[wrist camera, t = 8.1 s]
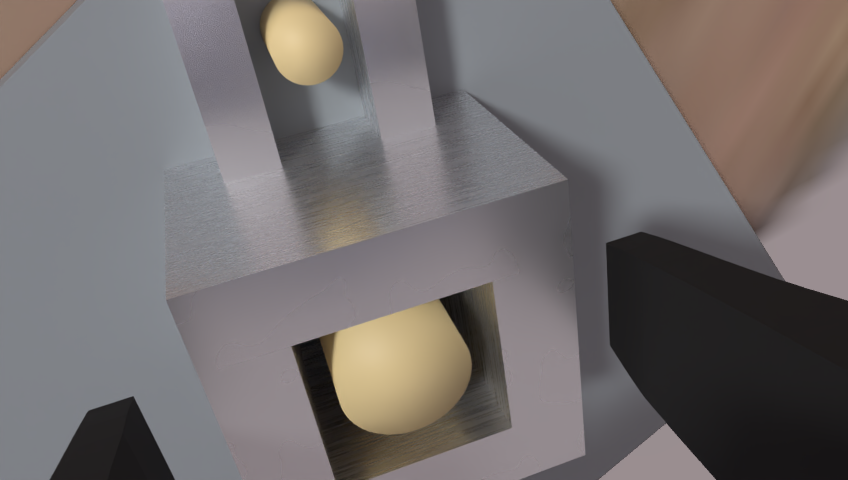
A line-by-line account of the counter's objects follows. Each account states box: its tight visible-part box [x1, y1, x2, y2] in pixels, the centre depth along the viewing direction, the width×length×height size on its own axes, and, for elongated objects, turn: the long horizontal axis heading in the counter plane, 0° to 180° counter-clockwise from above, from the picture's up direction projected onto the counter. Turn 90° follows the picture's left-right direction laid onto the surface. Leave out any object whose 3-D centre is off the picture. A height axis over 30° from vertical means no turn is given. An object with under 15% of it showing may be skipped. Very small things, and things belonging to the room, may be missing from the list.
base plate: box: [0, 0, 785, 480], centre depth 14 cm, size 20×16×5 cm
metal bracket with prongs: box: [162, 0, 585, 480], centre depth 11 cm, size 8×5×4 cm, turn 9°
